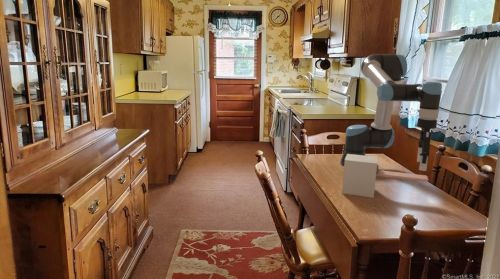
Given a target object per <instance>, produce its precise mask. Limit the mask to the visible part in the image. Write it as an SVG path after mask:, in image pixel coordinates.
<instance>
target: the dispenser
mask: <svg viewBox="0 0 500 279" xmlns="http://www.w3.org/2000/svg"><path fill="white" fill-rule="evenodd" d="M378 159H379V158H378V156H372V155H366V156H363V155H354V154H347V155H346V158H345V161H344V166H343V174H342V175H343V177H342V190H341V193H342V194H345V195H351V196H359V197H364V198H365V197H367V198H374V197H375V189H376V188H375V187H376V179H377V176H376V174H378V170H379V164H378Z"/></svg>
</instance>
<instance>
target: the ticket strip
mask: <svg viewBox="0 0 500 279" xmlns="http://www.w3.org/2000/svg"><path fill="white" fill-rule="evenodd" d="M376 177H385V178H392V179H402V180H410V181H418V182H427V183H428V182H429V176H427V175H424V174H416V173H415V174H414V173H406V172H399V171H398V172H397V171H388V170H382V169H381V170H379V169H378V174H376Z"/></svg>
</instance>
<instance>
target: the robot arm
mask: <svg viewBox="0 0 500 279" xmlns="http://www.w3.org/2000/svg"><path fill="white" fill-rule="evenodd" d="M360 71H361V73H362V75H363V76H364V77H365V78H367V79H369V80H370V82H371V83H372V84H373V85H374V86H375V87H376V96H377V101H376V107H375V114H374V121H372V123H371V124H370V127H368V125H366V124H354V125H353V124H352V125H350V126H348V127H347V128H346V130H345V134H344V135H345V140H344V151H343V154H342V156H341V158H340V165H341V166H343V167H344V161H345V158H346V155H347V154H354V155H363V156H367V155H366V148H369V149H370V148H371V149H388V148H390V147H391V146H393V143H394V140H395V130H394V129H393V126H392V125H391V121H392V120H391V118H392V112H393V108H394V103H395V102H418V103H419V109H418V110H417V112H418V118H417V124H416V126H417V127H418V128H420V129H421V130H420V132H419V133H420V134H419V140H418V149H417V156H416V162H417V163H419V167H418V171H423V172H427V169H428V168H427V167H428V160H429V156H430V148H431V147H430V146H431V137H432V132H431V130H434V129H437V124H438V119H439V114H440V112H439V111H440V104H441V98H442V92H443V91H442V89H443V85H442V83H441V82H439V81H423V83H414V84H412V83H411V84H410V83H409V84H406V83H399V82H401V80H402V78H403V77H405V76H406V74H407V72H408V62H407V59H406V56H404V54H398V53H373V54H369V55H368V56H367V57H365V58H364V59H363V60H362V63H361V65H360Z"/></svg>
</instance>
